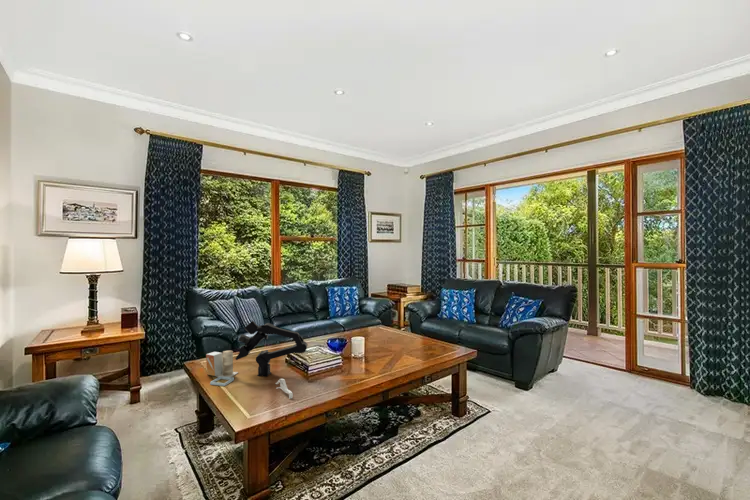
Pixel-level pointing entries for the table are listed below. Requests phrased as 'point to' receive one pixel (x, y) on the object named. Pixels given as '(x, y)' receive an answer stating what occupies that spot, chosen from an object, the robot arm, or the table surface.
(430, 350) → the table surface
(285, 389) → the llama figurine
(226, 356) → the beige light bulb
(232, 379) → the light blue square frame
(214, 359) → the small box
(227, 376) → the mat
